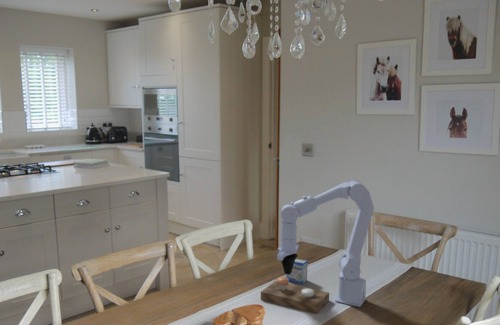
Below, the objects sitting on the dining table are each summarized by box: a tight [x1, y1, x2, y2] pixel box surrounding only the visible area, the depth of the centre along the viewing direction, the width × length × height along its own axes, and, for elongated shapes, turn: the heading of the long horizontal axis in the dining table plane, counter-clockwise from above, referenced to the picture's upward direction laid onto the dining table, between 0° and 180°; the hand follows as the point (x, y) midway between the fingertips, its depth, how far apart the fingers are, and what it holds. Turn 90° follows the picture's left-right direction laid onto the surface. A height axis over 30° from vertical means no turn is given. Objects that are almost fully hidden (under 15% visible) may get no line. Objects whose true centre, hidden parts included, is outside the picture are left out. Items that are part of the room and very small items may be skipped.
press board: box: [260, 280, 330, 314], centre depth 160 cm, size 22×12×3 cm, turn 60°
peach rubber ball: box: [276, 276, 290, 291], centre depth 162 cm, size 4×4×4 cm
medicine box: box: [285, 258, 309, 285], centre depth 178 cm, size 8×4×9 cm, turn 62°
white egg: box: [302, 288, 314, 298], centre depth 158 cm, size 4×4×4 cm
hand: (287, 273), depth 161 cm, fingers closed
